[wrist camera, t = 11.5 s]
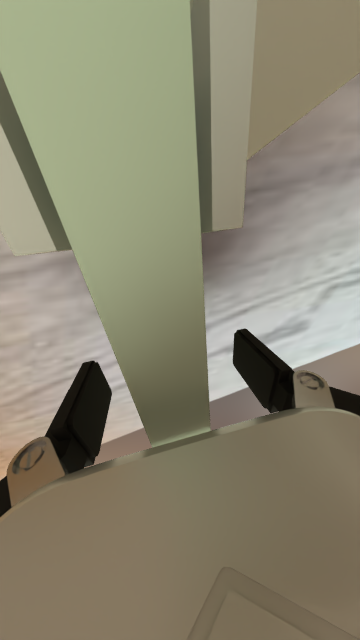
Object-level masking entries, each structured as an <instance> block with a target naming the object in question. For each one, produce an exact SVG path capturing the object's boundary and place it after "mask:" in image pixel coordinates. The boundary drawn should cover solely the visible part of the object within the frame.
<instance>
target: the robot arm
mask: <svg viewBox="0 0 360 640" xmlns="http://www.w3.org/2000/svg"><path fill="white" fill-rule="evenodd" d="M233 364H234V366H235V368H236V369H237V371H238V372H239V373H240V375H241V376H242V378H243V379H244V380H245V382H246V383H247V385H248V386H249V388H250V389H251V390H252V392H253V393H254V395H255V396H256V397H257V399H258V400H259V402H260V403H261V404H262V406H263V407H264V408H267V409H268V410H269V412H270V413H273V414H269V415H265V416H262V417H258V418H255V419H251V420H247V421H244V422H240V423H237V424H233V425H230V426H226V427H223V428H219V429H216V430H212V431H209V432H205V433H202V434H198V435H195V436H191V437H188V438H184V439H181V440H177V441H174V442H170V443H167V444H164V445H160V446H157V447H153V448H150V449H147V450H143V451H140V452H136V453H133V454H130V455H126V456H123V457H119V458H116V459H113V460H110V461H107V462H104V463H101V464H97V465H94V466H91V467H88V468H84V467H87V466H90V465H93V464H94V461H95V457H96V456H98V454H99V451H100V446H101V442H102V437H103V433H104V428H105V424H106V419H107V414H108V410H109V405H110V401H111V396H112V392H111V389H110V387H109V385H108V383H107V380H106V378H105V376H104V374H103V372H102V370H101V368H100V366H99V364H98V362H96V363H95V361H89V362H85V363H83V364H82V366H81V368H80V370H79V372H78V374H77V375H76V377H75V379H74V381H73V383H72V385H71V387H70V389H69V390H68V392H67V394H66V396H65V398H64V400H63V402H62V404H61V406H60V408H59V410H58V411H57V413H56V415H55V417H54V419H53V421H52V423H51V425H50V427H49V429H48V431H47V433H46V435H45V437H39V438H37V439H34V440H32V441H31V442H29V443H28V444H26V445H25V446H24V447H23V448H22V449H20V451H19V452H18V453H17V454H16V455H15V456H14V458H13V459H12V461H11V462H10V464H9V466H8V469H7V476H6V477H4V478H3V479H2V480H1V481H0V640H360V396H359V395H356V394H352V393H349V392H346V391H342V390H339V389H336V388H333V387H329V386H328V384H327V382H326V381H325V380H324V379H323V378H322V377H321V376H319V375H318V374H315V373H313V372H310V371H306V370H299V371H296V372H294V371H293V370H292V368H291V367H289V366H288V365H287V364H286V363H285V362H284V361H283V360H281V359H280V358H279V357H278V356H277V355H276V354H274V353H273V352H272V351H271V350H270V349H269V348H268V347H266V346H265V345H264V344H263V343H262V342H261V341H260V340H258V339H257V338H256V337H255V336H254V335H253V334H251V333H250V332H249V331H248V330H247V329H241V330H237V331H236V333H235V334H234V350H233ZM277 411H279V412H277ZM274 412H277V413H274Z"/></svg>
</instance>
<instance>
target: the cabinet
mask: <svg viewBox="0 0 360 640" xmlns="http://www.w3.org/2000/svg"><path fill="white" fill-rule="evenodd" d="M190 18H191V38H192V59H193V80H194V100H195V121H196V142H197V162H198V183H199V204H200V224H201V233H207V232H214V231H221V230H228V229H235V228H242V227H243V214H244V199H245V183H246V168H247V160H248V159H249V158H250V157H252V156H253V155H254V154H256V153H257V152H258V151H259V150H261V149H262V148H263V147H265V146H266V145H267V144H268V143H270V142H271V141H272V140H274V139H275V138H276V137H277V136H279V135H280V134H281V133H283V132H284V131H285V130H286V129H288V128H289V127H290V126H292V125H293V124H294V123H295V122H297V121H298V120H299V119H301V118H302V117H303V116H304V115H306V114H307V113H308V112H310V111H311V110H312V109H313V108H315V107H316V106H317V105H319V104H320V103H321V102H322V101H324V100H325V99H326V98H328V97H329V96H330V95H331V94H333V93H334V92H335V91H337V90H338V89H339V88H340V87H342V86H343V85H344V84H346V83H347V82H348V81H349V80H351V79H352V78H353V77H355V76H356V75H357V74H358V73H360V0H190ZM0 231H1V233H2V234H3V236H4V238H5V240H6V242H7V243H8V245H9V247H10V249H11V250H12V252H13V254H14V256H21V255H30V254H39V253H48V252H57V251H66V250H72V247H71V245H70V242H69V240H68V237H67V235H66V232H65V230H64V227H63V225H62V222H61V220H60V217H59V215H58V212H57V210H56V207H55V205H54V203H53V200H52V198H51V195H50V193H49V190H48V188H47V185H46V183H45V180H44V178H43V175H42V173H41V170H40V168H39V165H38V163H37V160H36V158H35V155H34V153H33V150H32V148H31V146H30V143H29V141H28V138H27V136H26V133H25V131H24V128H23V126H22V123H21V121H20V118H19V116H18V113H17V111H16V108H15V106H14V103H13V101H12V98H11V96H10V93H9V91H8V88H7V86H6V84H5V81H4V79H3V76H2V74H1V71H0Z"/></svg>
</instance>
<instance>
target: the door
mask: <svg viewBox="0 0 360 640" xmlns="http://www.w3.org/2000/svg"><path fill="white" fill-rule="evenodd" d="M0 71H1V74H2V76H3V79H4V81H5V84H6V86H7V88H8V91H9V93H10V96H11V98H12V101H13V103H14V106H15V108H16V111H17V113H18V116H19V118H20V121H21V123H22V126H23V128H24V131H25V133H26V136H27V138H28V141H29V143H30V146H31V148H32V150H33V153H34V155H35V158H36V160H37V163H38V165H39V168H40V170H41V173H42V175H43V178H44V180H45V183H46V185H47V188H48V190H49V193H50V195H51V198H52V200H53V203H54V205H55V207H56V210H57V212H58V215H59V217H60V220H61V222H62V225H63V227H64V230H65V232H66V235H67V237H68V240H69V242H70V245H71V247H72V250H73V252H74V255H75V257H76V260H77V262H78V264H79V267H80V269H81V272H82V274H83V277H84V279H85V282H86V284H87V287H88V289H89V292H90V294H91V297H92V299H93V302H94V304H95V307H96V309H97V312H98V314H99V317H100V319H101V321H102V324H103V326H104V329H105V331H106V334H107V336H108V339H109V341H110V344H111V346H112V349H113V351H114V354H115V356H116V359H117V361H118V364H119V366H120V369H121V371H122V374H123V376H124V378H125V381H126V383H127V386H128V388H129V391H130V393H131V396H132V398H133V401H134V403H135V406H136V408H137V411H138V413H139V416H140V418H141V421H142V423H143V426H144V428H145V431H146V433H147V435H148V438H149V440H150V443H151V445H152V448H153V447H157V446H160V445H164V444H167V443H170V442H174V441H177V440H181V439H184V438H188V437H191V436H195V435H198V434H202V433H205V432H209V431H210V413H209V412H210V410H209V390H208V369H207V348H206V328H205V307H204V286H203V266H202V245H201V224H200V204H199V183H198V162H197V142H196V121H195V100H194V80H193V59H192V38H191V18H190V0H0Z"/></svg>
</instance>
